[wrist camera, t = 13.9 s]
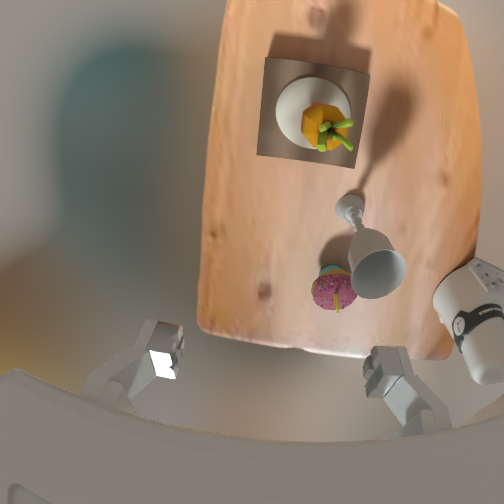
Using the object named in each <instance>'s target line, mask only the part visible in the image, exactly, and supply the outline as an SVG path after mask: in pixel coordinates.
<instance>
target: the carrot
mask: <svg viewBox="0 0 504 504" xmlns="http://www.w3.org/2000/svg"><path fill="white" fill-rule="evenodd" d="M353 123H354V122H353V120H352V119H349V118H347V119H346V118H345V117H344V115H343V114H342V112H341V111H340V110H339V108H338V107H335V106H332V105H327V104H321V103H314V104H313V105H311V106H310V107H308V108H307V109H305V110H304V111H303V113H302V121H301V132H302V134H303V135H304V136H305V138H306V139H307V140H308V141H309V143H310V144H311V145H312V146H313V148H318V150H319V151H321V152H324V151H326V150H331V151H332V150H333V149H335V148H336V147H338V146H339V145H341V144H343V145H344V146H345V147H346V148H347V149H349V150H350V151H352V150H353V144H352V143H351V142H350V141H348V140H347V133H348V127H350V126H352V125H353Z"/></svg>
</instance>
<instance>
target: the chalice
mask: <svg viewBox="0 0 504 504" xmlns="http://www.w3.org/2000/svg"><path fill="white" fill-rule="evenodd" d="M364 208H365V205H364V202H363V200H362V199H361V198H360V197H358V196H356V195H346V196H344V197H342V198H341V199H340V200H339V201H338V202H337V205H336V214H337V216H338V217H339V219H341V220H342V221H345V222H347V223H351V225H352V226H353V227H354V231H355V234H354V236H353V238H352V240H351V243H350V246H349V251H348V260H349V264H350V267H351V271H352V275H351V286H352V289H353V291H354V292H355V293H356V294H357V295H359V296H360V297H362V298H367V299H375V298H380V297H383V296H386V295H388V294H389V293H391V292H392V291H394V290H395V289H396V288H397V287H398V286H399V285H400V283H401V282H402V280H403V278H404V276H405V272H406V262H405V260H404V258H403V257H402V255H400V254H399V253H398V252H396V251H395V250H394V248H393V247H392V245H391V243H390V241H389V239H388V238H387V237H386V236H385V235H384V234H382V233H381V232H379V231H377V230H374V229H369V228H364V225H363V224H362V219H361V218H362V216H363V213H364Z"/></svg>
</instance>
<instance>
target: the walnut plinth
mask: <svg viewBox="0 0 504 504" xmlns="http://www.w3.org/2000/svg"><path fill="white" fill-rule="evenodd" d="M369 82H370V75H369V74H365V73H361V72H357V71H353V70H348V69H343V68H338V67H333V66H328V65H322V64H316V63H310V62H303V61H296V60H288V59H279V58H269V57H265V66H264V77H263V88H262V99H261V110H260V122H259V133H258V144H257V155H260V156H270V157H278V158H287V159H294V160H302V161H309V162H316V163H323V164H329V165H335V166H341V167H347V168H352V169H354V168H355V163H356V158H357V153H358V148H359V143H360V138H361V132H362V126H363V121H364V115H365V108H366V102H367V96H368V89H369ZM314 103H321V104H327V105H332V106H335V107H338V108H339V110H340V111H341V112H342V114H343V115H344V117H345V118H346V119H347V118H349V119H352V120H353V122H354V123H353V125H352V126H350V127H348V133H347V140H348V141H350V142H351V143H352V144H353V150H352V151H350V150H349V149H347V148H346V147H345V146H344V145H343V144H341V145H339V146H338V147H336V148H335V149H333V150H332V151H331V150H326V151H324V152H321V151H319V150H318V148H313V146H312V145H311V144H310V143H309V141H308V140H307V139H306V138H305V136H304V135H303V134H302V132H301V121H302V113H303V111H304V110H305V109H307V108H308V107H310V106H311V105H313V104H314Z"/></svg>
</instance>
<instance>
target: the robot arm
mask: <svg viewBox="0 0 504 504" xmlns="http://www.w3.org/2000/svg"><path fill="white" fill-rule="evenodd" d="M433 306H434V309H435V310H436V311H437V313H438V314H439V320H440V322H441V323H444V324H445V326H446V327H447V329H448V331H449V332H450V334H451V336H452V337H453V339H454V340H455V342H456V346H457V348H458V349H459V351H460V353H462V354H463V356H464V358H465V360H466V363H467V366H468V368H469V371H470V373H471V376H472V378H473V379H474V380H475V381H476V382H477V383H479V384H483V385H490V384H495V383H501V382H504V313H503V310H504V271H503V270H501V269H499V268H497V267H495V266H493V265H491V264H489V263H487V262H485V261H483V260H481V259H479V258H477V257H475V258H473V259H472V260H470V261H469V262H468V263H467V264H466V265H465V266H463V267H461V268H459V269H457V270H455V271H454V272H452V273H451V274H449V275H448V276H447V277H446V278H445V279H444V280H443V281H442V282H441V284H440V285H439V286H438V288H437V290H436V292H435V294H434V297H433ZM182 333H183V327H182V326H181V325H177V324H171V323H167V322H162V321H158V320H153V319H147V320H146V321H145V323H144V326H143V328H142V330H141V332H140V334H139V336H138V338H137V341H136V343H135V345H134V347H129V348H127V349H126V350H124V351H123V352H121V353H120V354H118V355H117V356H115V357H114V358H112V359H110V360H109V361H107V362H106V363H104V364H103V365H102V366H100V367H98V368H97V369H95V370H94V371H92V372H90V374H89V376H88V378H87V381H86V383H85V385H84V387H83V389H82V391H81V393H80V395H79V396H78V395H75V394H73V393H71V392H68V391H66V390H63V389H61V388H59V387H56V386H54V385H52V384H50V383H48V382H45V381H43V380H41V379H39V378H37V377H35V376H33V375H31V374H29V373H27V372H25V371H23V370H20V369H14V370H12V371H9V372H7V373H6V374H4V375H2V376H0V504H504V394H503V395H502V396H500V397H498V398H497V399H496V400H494V401H493V402H491V403H490V404H488V405H487V406H485V407H484V408H482V409H481V410H479V411H477V412H476V413H475V414H474V415H473V416H472V417H470V418H469V419H468V420H467V421H466V422H464V423H463V424H462V425H461V426H460V427H456V428H452V424H451V420H450V417H449V413H448V409H447V406H446V405H445V404H444V403H443V402H442V401H441V400H440V399H439V398H438V396H437V395H435V393H433V391H432V390H430V388H429V387H428V386H427V385H426V384H425V383H424V382H423V381H422V380H421V379H420V378H419V377H418V376H417V375H414V373H413V369H412V366H411V362H410V359H409V356H408V353H407V349H406V348H405V347H401V346H374V347H373V348H372V349H371V355H370V356H368V357H367V358H366V359H365V361H364V365H363V376H364V378H365V379H366V380H367V383H366V385H365V388H366V395H367V397H368V398H383V399H384V400H385V402H386V403H387V404H388V406H389V407H390V409H391V410H392V411H393V413H394V414H395V415H396V417H397V418H398V420H399V421H400V423H401V424H402V425H403V427H402V428H401V429H400V430H399V431H398V432H397V433H396V434H395V438H388V439H377V440H364V441H343V442H341V441H340V442H305V441H304V442H303V441H283V440H269V439H258V438H248V437H240V436H232V435H225V434H219V433H212V432H206V431H201V430H195V429H190V428H186V427H181V426H176V425H172V424H167V423H163V422H159V421H155V420H152V419H148V418H144V417H140V416H137V415H135V414H136V411H135V409H134V407H133V405H132V403H131V402H130V399H131V398H132V397H133V396H135V395H136V394H137V393H138V392H139V391H140V390H142V389H143V388H144V387H145V386H146V385H147V384H148V383H150V382H151V381H152V380H153V379H154V378H155V377H156V376H162V377H166V378H172V379H175V378H176V374H177V371H178V368H179V364H178V360H180V359H181V358H182V355H183V350H184V338H183V336H182Z"/></svg>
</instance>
